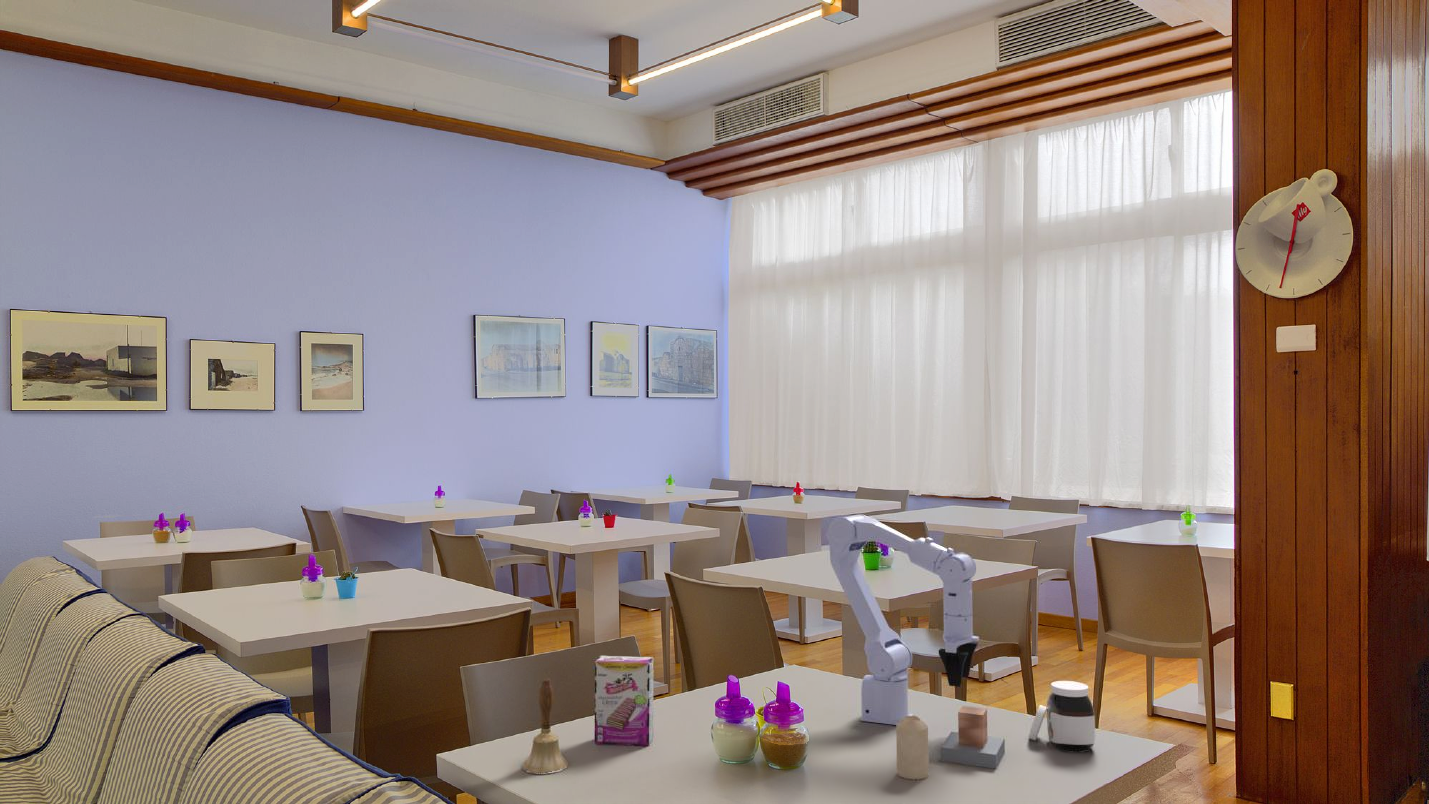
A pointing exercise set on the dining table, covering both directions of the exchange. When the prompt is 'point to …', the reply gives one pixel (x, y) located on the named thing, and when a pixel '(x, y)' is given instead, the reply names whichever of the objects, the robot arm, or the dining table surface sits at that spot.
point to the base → (973, 752)
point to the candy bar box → (624, 700)
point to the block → (972, 726)
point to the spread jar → (1067, 717)
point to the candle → (912, 748)
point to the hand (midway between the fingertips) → (959, 681)
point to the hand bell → (545, 739)
